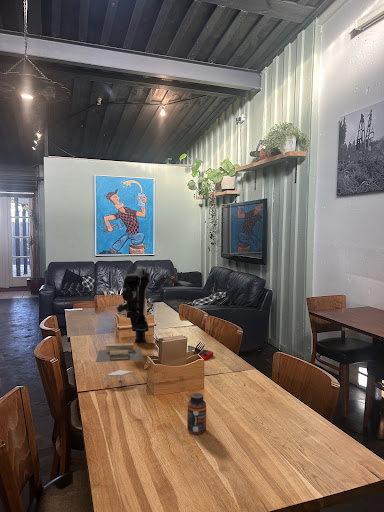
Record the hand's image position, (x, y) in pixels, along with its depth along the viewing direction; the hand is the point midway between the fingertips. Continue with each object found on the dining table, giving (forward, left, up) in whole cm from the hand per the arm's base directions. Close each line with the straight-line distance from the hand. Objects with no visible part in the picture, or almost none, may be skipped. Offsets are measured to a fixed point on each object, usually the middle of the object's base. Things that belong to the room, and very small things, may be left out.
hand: (133, 327), depth 196 cm
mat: (+8, -7, -12) cm, 16 cm away
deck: (+11, -7, -10) cm, 17 cm away
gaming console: (+9, +27, -13) cm, 32 cm away
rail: (+2, -7, -12) cm, 14 cm away
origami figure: (+44, -6, -13) cm, 46 cm away
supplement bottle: (+85, +20, -13) cm, 88 cm away
